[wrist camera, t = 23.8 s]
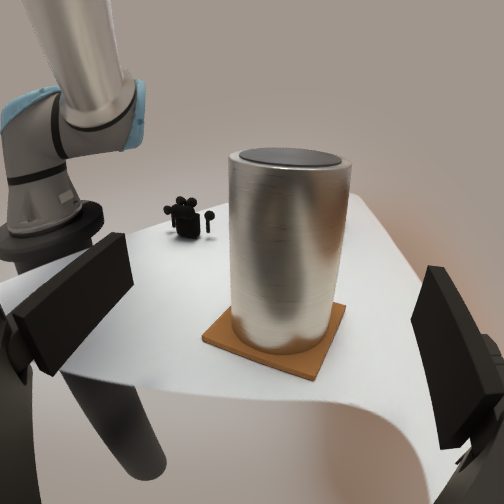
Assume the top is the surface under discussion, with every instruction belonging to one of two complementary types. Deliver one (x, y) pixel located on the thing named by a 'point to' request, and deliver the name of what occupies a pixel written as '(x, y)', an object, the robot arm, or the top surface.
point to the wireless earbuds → (187, 217)
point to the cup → (285, 244)
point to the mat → (296, 364)
